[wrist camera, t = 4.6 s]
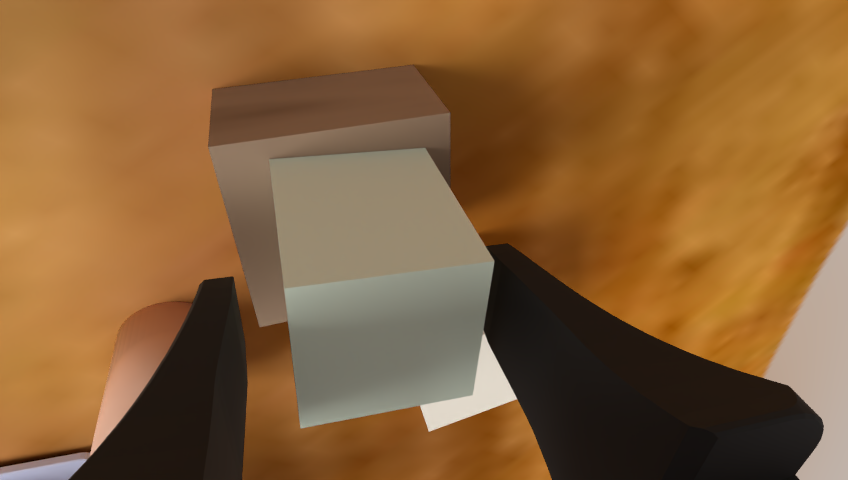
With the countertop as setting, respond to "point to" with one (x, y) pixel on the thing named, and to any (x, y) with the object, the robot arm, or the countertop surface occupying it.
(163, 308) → the terracotta cylinder
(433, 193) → the sage block
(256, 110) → the walnut block
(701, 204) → the countertop surface
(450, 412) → the cream block
